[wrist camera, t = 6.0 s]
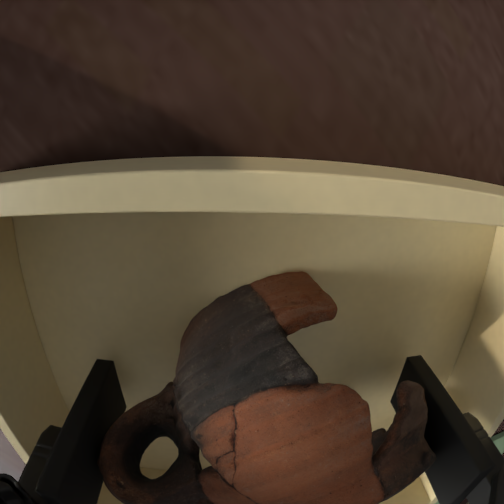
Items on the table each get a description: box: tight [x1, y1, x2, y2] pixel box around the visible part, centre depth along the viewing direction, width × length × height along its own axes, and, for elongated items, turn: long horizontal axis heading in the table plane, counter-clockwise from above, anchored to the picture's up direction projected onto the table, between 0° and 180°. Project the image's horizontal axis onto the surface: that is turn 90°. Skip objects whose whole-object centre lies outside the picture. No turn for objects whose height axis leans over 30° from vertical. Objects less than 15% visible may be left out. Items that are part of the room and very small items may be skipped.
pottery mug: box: [97, 271, 437, 504], centre depth 11 cm, size 12×10×8 cm
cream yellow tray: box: [0, 156, 504, 504], centre depth 11 cm, size 22×18×5 cm
